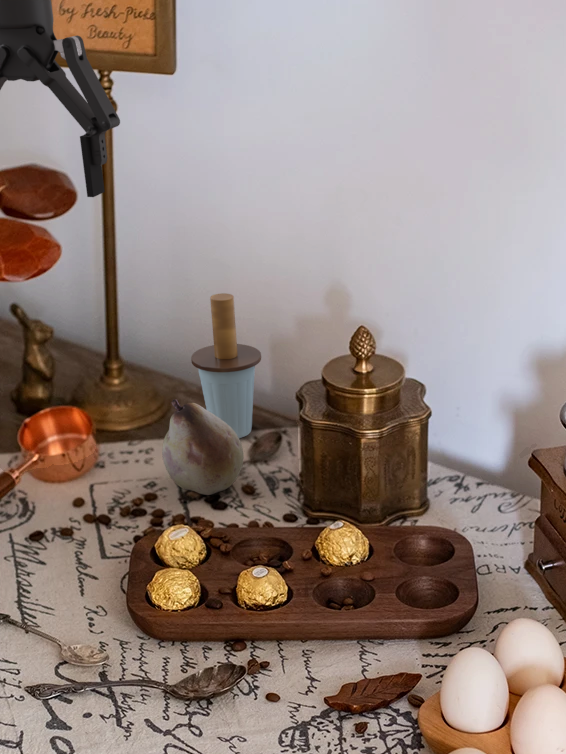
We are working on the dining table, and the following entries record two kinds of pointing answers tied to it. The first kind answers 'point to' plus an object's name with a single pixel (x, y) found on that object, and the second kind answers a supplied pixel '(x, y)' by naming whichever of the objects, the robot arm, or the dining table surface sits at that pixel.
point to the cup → (230, 397)
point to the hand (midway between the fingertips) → (41, 191)
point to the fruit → (201, 450)
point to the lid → (225, 341)
